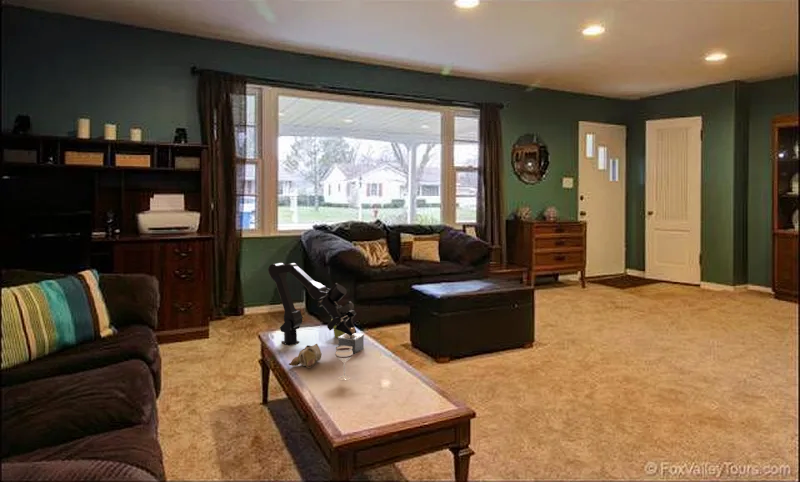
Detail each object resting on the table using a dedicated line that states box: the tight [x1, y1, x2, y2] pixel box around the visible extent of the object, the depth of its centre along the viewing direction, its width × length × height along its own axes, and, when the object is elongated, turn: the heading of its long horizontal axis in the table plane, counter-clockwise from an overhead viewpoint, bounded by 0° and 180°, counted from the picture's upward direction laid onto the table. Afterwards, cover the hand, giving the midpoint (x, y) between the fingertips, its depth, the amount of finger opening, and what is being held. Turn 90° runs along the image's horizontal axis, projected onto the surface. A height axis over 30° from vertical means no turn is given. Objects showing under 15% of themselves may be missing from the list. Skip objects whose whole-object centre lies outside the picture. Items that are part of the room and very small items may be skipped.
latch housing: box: [337, 332, 365, 355], centre depth 234 cm, size 9×11×7 cm
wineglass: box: [335, 345, 354, 381], centre depth 198 cm, size 7×7×12 cm
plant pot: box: [332, 325, 345, 339], centre depth 255 cm, size 9×9×9 cm
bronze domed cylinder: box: [348, 326, 356, 336], centre depth 232 cm, size 4×4×9 cm
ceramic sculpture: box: [288, 343, 322, 369], centre depth 213 cm, size 11×9×15 cm
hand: (353, 333), depth 232 cm, fingers closed on bronze domed cylinder, 4 cm apart
